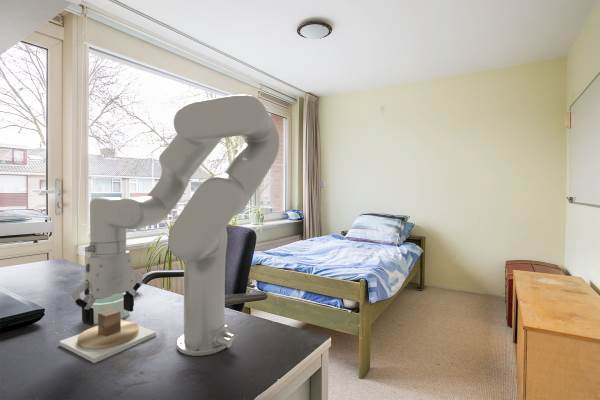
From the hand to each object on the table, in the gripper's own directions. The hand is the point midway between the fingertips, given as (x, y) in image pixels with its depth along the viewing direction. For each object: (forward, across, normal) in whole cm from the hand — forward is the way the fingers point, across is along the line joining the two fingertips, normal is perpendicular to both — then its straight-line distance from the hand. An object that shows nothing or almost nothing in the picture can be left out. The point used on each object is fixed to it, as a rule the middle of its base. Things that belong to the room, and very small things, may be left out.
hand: (109, 317), depth 79 cm
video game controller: (+6, +22, +28) cm, 36 cm away
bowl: (+6, +8, +15) cm, 18 cm away
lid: (+5, 0, 0) cm, 5 cm away
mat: (+6, 0, 0) cm, 6 cm away
